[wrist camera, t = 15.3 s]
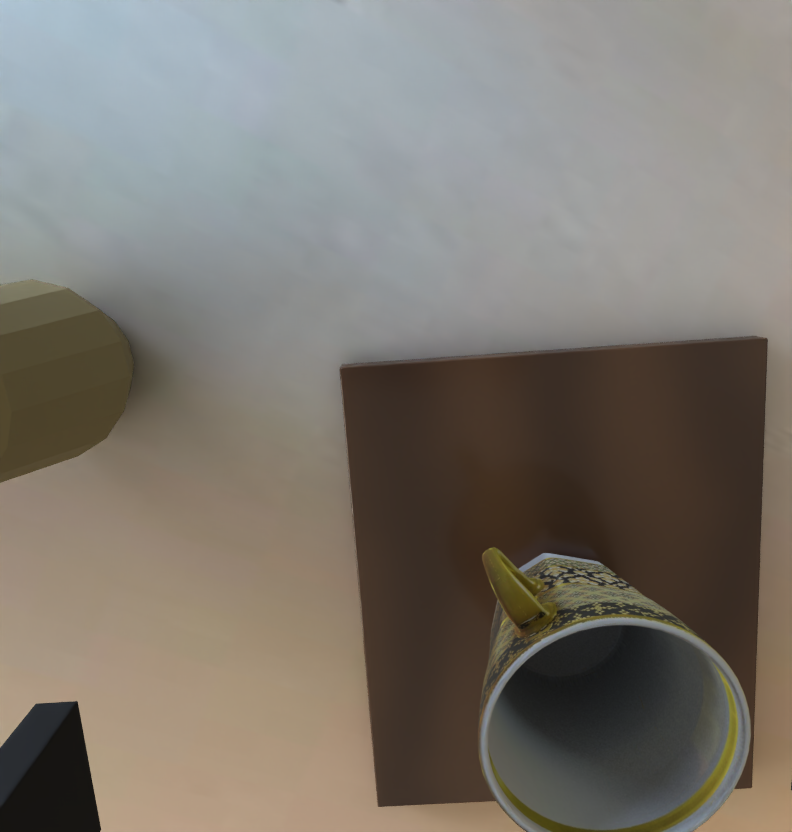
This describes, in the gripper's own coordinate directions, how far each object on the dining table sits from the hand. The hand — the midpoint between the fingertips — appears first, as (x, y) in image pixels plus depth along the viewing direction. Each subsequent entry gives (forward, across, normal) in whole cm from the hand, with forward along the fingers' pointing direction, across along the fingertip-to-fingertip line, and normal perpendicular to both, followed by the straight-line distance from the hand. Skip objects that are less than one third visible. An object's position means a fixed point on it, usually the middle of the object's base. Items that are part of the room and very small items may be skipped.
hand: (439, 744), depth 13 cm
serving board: (+23, +7, -8) cm, 25 cm away
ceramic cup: (+22, +6, -8) cm, 24 cm away
